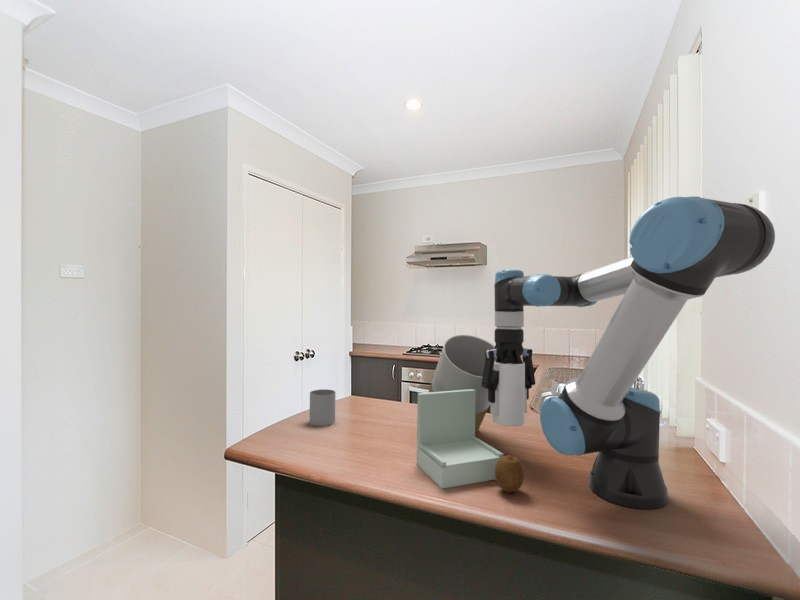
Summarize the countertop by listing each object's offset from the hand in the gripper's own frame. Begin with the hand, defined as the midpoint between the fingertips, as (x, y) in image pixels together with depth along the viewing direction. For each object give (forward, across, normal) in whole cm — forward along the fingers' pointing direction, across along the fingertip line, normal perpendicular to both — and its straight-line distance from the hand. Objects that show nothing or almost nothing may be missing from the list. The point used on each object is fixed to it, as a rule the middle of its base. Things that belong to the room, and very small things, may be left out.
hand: (508, 413), depth 110 cm
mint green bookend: (+12, +17, +3) cm, 21 cm away
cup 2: (+3, 0, 0) cm, 3 cm away
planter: (+7, +3, -26) cm, 28 cm away
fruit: (+12, +12, +16) cm, 23 cm away
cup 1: (+11, +41, -46) cm, 62 cm away
